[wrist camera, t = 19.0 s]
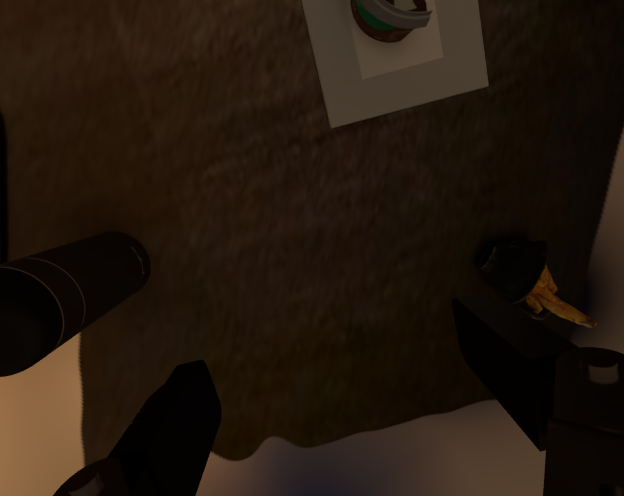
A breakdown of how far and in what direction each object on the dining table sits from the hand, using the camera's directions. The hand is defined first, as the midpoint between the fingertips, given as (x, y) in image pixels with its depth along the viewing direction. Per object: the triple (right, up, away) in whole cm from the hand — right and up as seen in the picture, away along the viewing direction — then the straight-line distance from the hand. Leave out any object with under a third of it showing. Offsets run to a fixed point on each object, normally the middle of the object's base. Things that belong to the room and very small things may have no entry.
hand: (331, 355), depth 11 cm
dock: (+8, +32, +30) cm, 45 cm away
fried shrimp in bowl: (+30, -1, +38) cm, 48 cm away
